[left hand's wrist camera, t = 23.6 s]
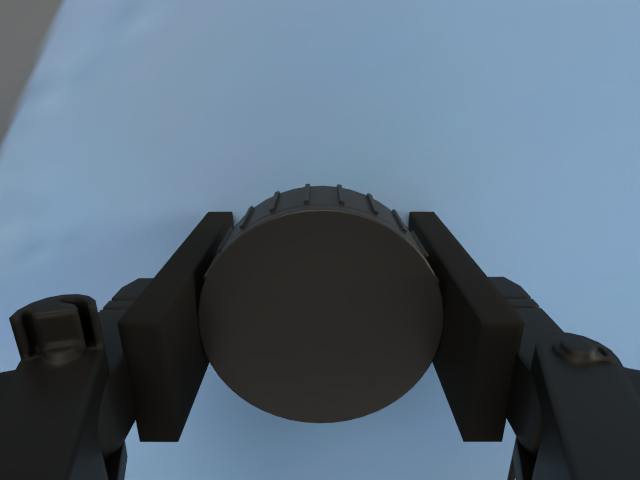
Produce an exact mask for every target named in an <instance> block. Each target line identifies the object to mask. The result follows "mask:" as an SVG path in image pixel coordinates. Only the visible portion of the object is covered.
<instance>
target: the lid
mask: <svg viewBox="0 0 640 480" xmlns="http://www.w3.org/2000/svg"><path fill="white" fill-rule="evenodd" d="M427 256H428V254H427V253H426V251H425V249H424V248H423V246H422V244H421V243H420V241H419V239H418V238H417V236H416V234H415V233H414V231H412V232H410V231H409V229H408V228H407V227H406V226H405V224H404V223H403V222H402V220H401V219H400V217H399V215H398V213H397V211H395V210H394V209H393V210H392V211H391V210H390V209H388V208H387V207H385V206H384V205H383V204H381V203H380V202H378V201H376V200H374V199H373V197H372V195H371V194H369V193H368V194H367V196H366V195H364V194H361V193H358V192H356V191H353V190H349V189H344V188H342V185H337V187H330V186H310V184H306V185H305V187H303V188H297V189H292V190H289V191H286V192H283V193H280V192H279V191H278V192H275V195H274V196H273V197H271V198H269V199H267V200H265V201H264V202H262V203H260V204H259V205H257V206H256V207H253V206H251V207H250V208H249V209H248V211H247V213H246V215H245V216H244V217H243V218H242V219H241V220H240V221H239V223H238V224H237V225H236V226H235V227H234V228H233V227H230V229H229V230H228V232H227V234H226V236H225V237H224V239H223V241H222V243H221V244H220V246H219V248H218V249H217V254H216V256H215V258H214V259H213V261H212V263H211V265H210V266H209V268H208V270H207V272H206V273H205V275H204V278H203V279H204V280H205V281H204V284H203V287H202V291H201V294H200V298H199V306H198V326H199V332H200V338H201V342H202V345H203V348H204V351H205V353H206V355H207V357H208V359H209V361H210V363H211V365H212V367H213V368H214V370H215V371H216V373H217V374H218V376H219V377H220V378H221V379H222V380H223V381H224V382H225V384H226V385H227V386H228V387H229V388H230V389H231V390H233V391H234V392H235V393H236V394H237V395H238V396H240V397H241V398H243V399H244V400H245V401H247V402H248V403H250V404H251V405H253V406H255V407H257V408H259V409H261V410H263V411H265V412H268V413H270V414H273V415H275V416H278V417H282V418H286V419H289V420H295V421H301V422H310V423H333V422H340V421H347V420H352V419H356V418H359V417H363V416H366V415H368V414H371V413H374V412H376V411H378V410H380V409H382V408H384V407H386V406H388V405H390V404H391V403H393V402H394V401H396V400H398V399H399V398H401V397H402V396H403V395H404V394H405V393H407V392H408V391H409V390H410V389H411V388H412V387H413V386H414V385H415V384H416V383H417V382H418V381H419V380H420V379H421V377H422V376H423V375H424V373H425V372H426V371H427V369H428V368H429V366H430V364H431V362H432V360H433V359H434V357H435V355H436V352H437V349H438V347H439V344H440V341H441V336H442V331H443V322H444V308H443V299H442V295H441V291H440V287H439V284H440V283H439V280H438V278H437V276H436V275H435V273H434V271H433V269H432V268H431V266H430V264H429V263H428V261H427V259H426V257H427Z"/></svg>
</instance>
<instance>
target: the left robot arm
mask: <svg viewBox="0 0 640 480" xmlns="http://www.w3.org/2000/svg"><path fill="white" fill-rule="evenodd" d="M230 227H233V214H232V212H208V213H207V214H206V216H205V217H204V218H203V219H202V220H201V222H200V223H199V224H198V225H197V226H196V228H195V229H194V230H193V231H192V232H191V234H190V235H189V236H188V237H187V239H186V240H185V241H184V242H183V243H182V245H181V246H180V247H179V248H178V249H177V251H176V252H175V253H174V254H173V255H172V257H171V258H170V259H169V260H168V262H167V263H166V264H165V265H164V266H163V268H162V269H161V270H160V271H159V272H158V274H157V275H156V276H155V277H154V278H139V279H137V280H135V281H133V282H131V283H129V284H128V285H126V286H124V287H122V288H121V289H120V290H119V291H118V292H117V293H116V295H115V296H114V297H113V298H112V301H109V302H108V303H107V304H106V305H105V306H104V307H103V310H101V311H100V312H99V313H98V311H97V306H96V301H95V300H94V299H92V298H91V297H89V296H85V295H80V294H69V295H59V296H54V297H49V298H45V299H42V300H39V301H36V302H33V303H31V304H29V305H27V306H25V307H23V308H21V309H19V310H17V311H16V312H15V313H14V314H13V315H12V316H11V317H10V318H9V319H10V323H11V326H12V330H13V333H14V337H15V340H16V343H17V347H18V350H19V354H20V357H21V361H20V363H19V364H18V366H17V368H16V370H12V371H7V372H2V373H0V480H124V477H125V470H126V463H127V451H126V445H125V438H126V437H127V435H128V433H129V431H130V429H131V427H132V425H133V424H134V422H135V420H136V423H137V428H138V434H139V439H140V442H178V441H179V438H180V436H181V433H182V431H183V428H184V426H185V423H186V421H187V418H188V416H189V413H190V410H191V408H192V405H193V403H194V400H195V398H196V395H197V393H198V390H199V387H200V385H201V382H202V380H203V377H204V375H205V372H206V370H207V367H208V365H209V362H210V361H209V359H208V357H207V355H206V353H205V351H204V348H203V345H202V342H201V338H200V332H199V326H198V306H199V298H200V294H201V291H202V287H203V284H204V281H205V280H204V279H203V278H204V275H205V273H206V272H207V270H208V268H209V266H210V265H211V263H212V261H213V259H214V258H215V256H216V254H217V249H218V248H219V246H220V244H221V243H222V241H223V239H224V237H225V236H226V234H227V232H228V230H229V229H230ZM233 228H234V227H233ZM409 231H410V232H412V231H414V233H415V234H416V236H417V238H418V239H419V241H420V243H421V244H422V246H423V248H424V249H425V251H426V253H427V254H428V256H427V257H426V259H427V261H428V263H429V264H430V266H431V268H432V269H433V271H434V273H435V275H436V276H437V278H438V280H439V283H440V284H439V287H440V291H441V295H442V299H443V308H444V322H443V331H442V336H441V341H440V344H439V347H438V349H437V352H436V355H435V357H434V359H433V360H432V362H433V365H434V367H435V370H436V372H437V375H438V377H439V380H440V382H441V385H442V388H443V390H444V393H445V395H446V398H447V400H448V403H449V405H450V408H451V411H452V413H453V416H454V418H455V421H456V423H457V426H458V428H459V431H460V434H461V436H462V439H463V441H464V442H502V438H503V433H504V428H505V423H506V418H507V420H508V421H509V423H510V425H511V427H512V429H513V431H514V432H515V434H516V440H515V445H514V450H513V455H512V460H511V464H510V469H509V474H508V480H515V478H516V480H640V370H634V369H629V368H625V367H623V365H622V364H621V362H620V360H619V359H618V357H617V356H616V355H615V354H614V353H613V352H612V351H611V350H610V349H608V348H607V347H605V346H604V345H602V344H600V343H599V342H597V341H594V340H592V339H589V338H587V337H584V336H580V335H576V334H572V333H564V332H563V331H562V330H561V329H560V327H559V326H558V325H557V324H556V323H555V322H554V321H553V320H552V319H551V318H550V317H549V316H548V315H547V314H546V313H545V312H544V311H543V310H542V308H539V305H538V304H537V303H536V302H535V301H534V300H533V299H531V297H530V296H529V295H528V294H527V293H526V292H525V290H524V289H523V288H522V287H521V286H519V285H517V284H516V283H514V282H512V281H510V280H508V279H506V278H505V277H487V276H486V275H485V273H484V272H483V271H482V270H481V269H480V267H479V266H478V265H477V264H476V263H475V261H474V260H473V259H472V258H471V257H470V255H469V254H468V253H467V252H466V250H465V249H464V248H463V247H462V246H461V244H460V243H459V242H458V241H457V240H456V238H455V237H454V236H453V235H452V233H451V232H450V231H449V230H448V229H447V227H446V226H445V225H444V224H443V223H442V221H441V220H440V219H439V218H438V217H437V215H436V214H435V213H434V212H410V216H409Z"/></svg>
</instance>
